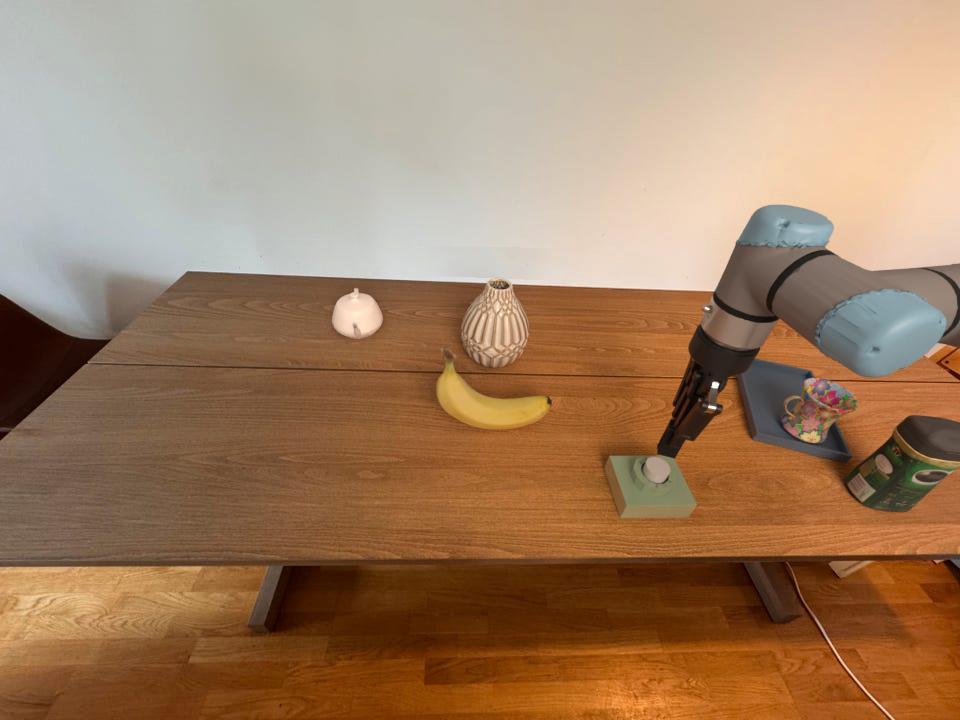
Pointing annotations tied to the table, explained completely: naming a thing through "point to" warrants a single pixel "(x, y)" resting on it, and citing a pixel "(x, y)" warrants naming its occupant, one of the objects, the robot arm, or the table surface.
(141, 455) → the table surface
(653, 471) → the button
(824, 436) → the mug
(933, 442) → the coffee jar
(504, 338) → the vase
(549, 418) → the table surface
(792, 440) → the tray
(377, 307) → the teapot
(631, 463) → the green button box
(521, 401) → the banana
